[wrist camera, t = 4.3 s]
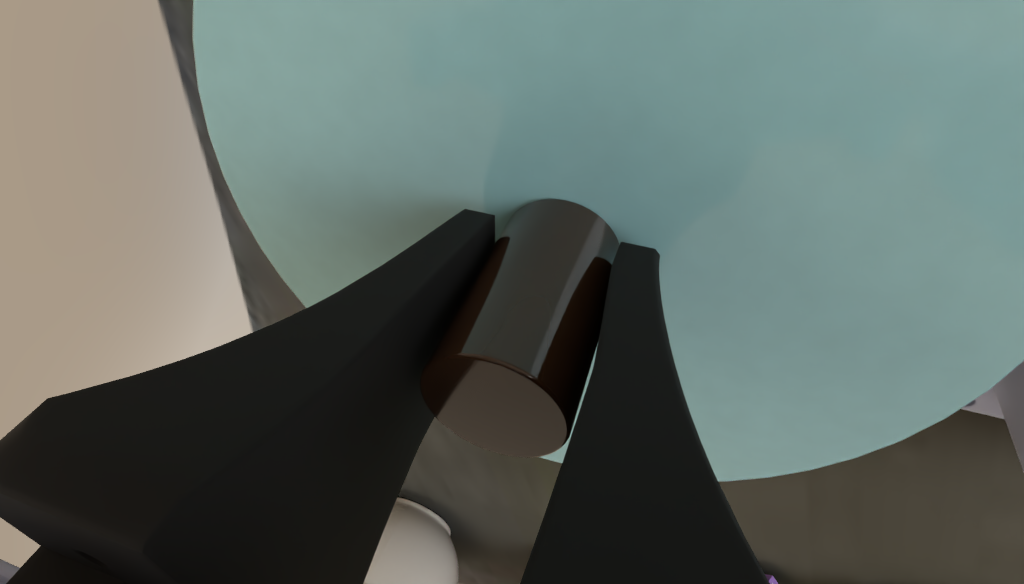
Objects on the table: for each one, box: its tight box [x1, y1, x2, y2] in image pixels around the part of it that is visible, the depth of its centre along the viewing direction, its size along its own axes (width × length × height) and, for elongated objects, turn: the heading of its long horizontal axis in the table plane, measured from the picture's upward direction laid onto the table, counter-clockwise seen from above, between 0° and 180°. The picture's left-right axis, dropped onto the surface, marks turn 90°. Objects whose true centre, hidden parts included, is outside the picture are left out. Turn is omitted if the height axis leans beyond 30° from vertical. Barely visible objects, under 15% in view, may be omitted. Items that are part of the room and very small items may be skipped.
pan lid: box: [193, 0, 1024, 481], centre depth 10 cm, size 16×16×5 cm
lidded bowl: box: [363, 497, 459, 584], centre depth 46 cm, size 13×13×11 cm
